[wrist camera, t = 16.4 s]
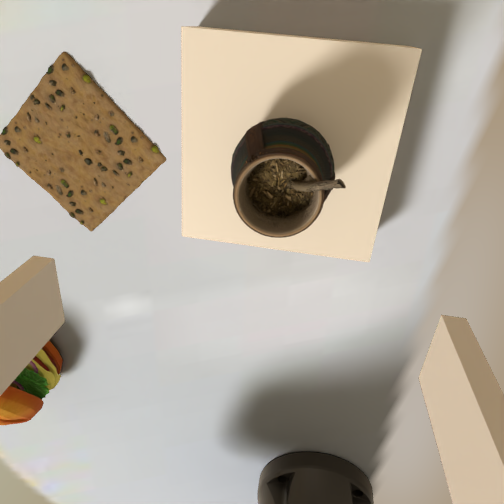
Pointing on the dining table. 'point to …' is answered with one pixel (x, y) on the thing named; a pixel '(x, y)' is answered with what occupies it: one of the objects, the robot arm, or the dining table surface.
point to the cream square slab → (296, 107)
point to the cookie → (79, 144)
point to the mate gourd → (282, 176)
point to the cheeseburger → (31, 387)
